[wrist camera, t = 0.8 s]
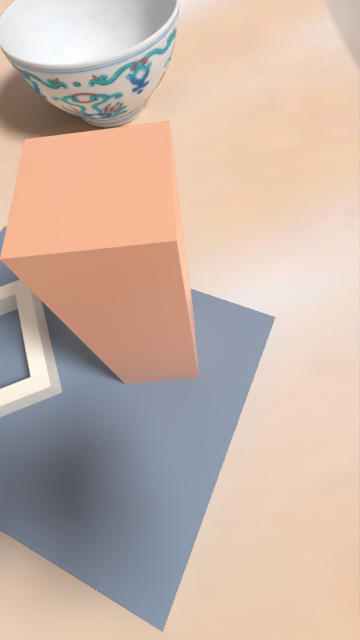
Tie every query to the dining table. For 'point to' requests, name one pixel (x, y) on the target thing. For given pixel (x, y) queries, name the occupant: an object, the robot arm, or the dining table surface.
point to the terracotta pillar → (108, 246)
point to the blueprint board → (123, 454)
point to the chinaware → (91, 52)
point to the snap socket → (29, 350)
